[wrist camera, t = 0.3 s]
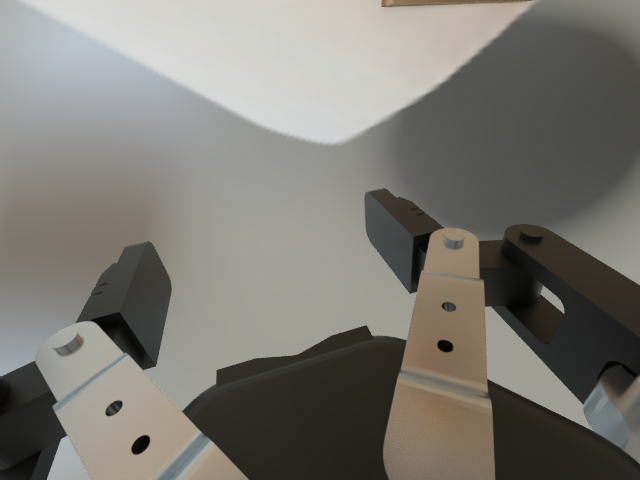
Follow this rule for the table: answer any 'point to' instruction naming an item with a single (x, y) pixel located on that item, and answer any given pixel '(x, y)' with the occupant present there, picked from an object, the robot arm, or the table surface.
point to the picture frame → (439, 2)
